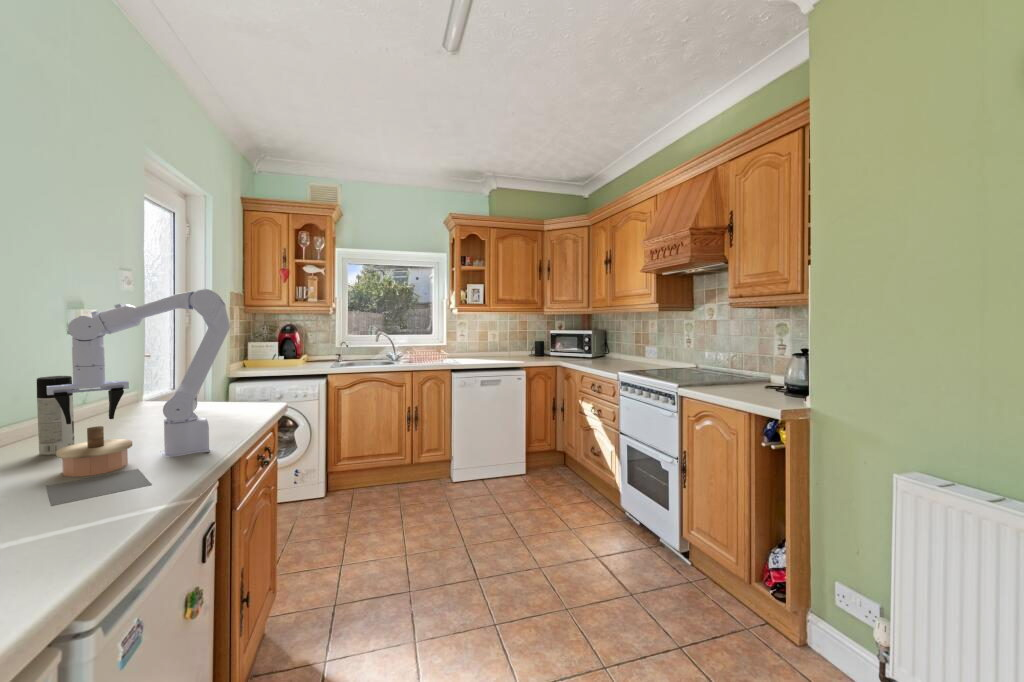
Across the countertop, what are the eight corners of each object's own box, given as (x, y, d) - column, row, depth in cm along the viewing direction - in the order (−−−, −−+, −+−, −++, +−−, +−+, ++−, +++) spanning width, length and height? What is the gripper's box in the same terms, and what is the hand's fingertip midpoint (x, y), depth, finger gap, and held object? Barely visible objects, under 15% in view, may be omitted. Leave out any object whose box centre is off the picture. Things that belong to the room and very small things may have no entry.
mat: (138, 471, 106) (138, 468, 106) (152, 487, 96) (152, 484, 96) (46, 488, 94) (46, 485, 94) (51, 508, 85) (51, 505, 84)
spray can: (80, 450, 121) (78, 376, 121) (48, 457, 115) (45, 379, 114) (65, 447, 124) (63, 374, 123) (32, 454, 117) (29, 377, 116)
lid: (135, 439, 114) (134, 419, 114) (129, 452, 104) (128, 429, 103) (63, 447, 107) (63, 425, 107) (49, 461, 96) (48, 437, 96)
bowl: (122, 460, 114) (122, 440, 113) (131, 470, 106) (130, 449, 106) (61, 470, 105) (60, 449, 105) (65, 482, 98) (64, 459, 98)
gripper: (124, 362, 118) (126, 414, 119) (45, 366, 107) (47, 423, 108) (129, 364, 113) (131, 418, 114) (47, 368, 103) (49, 428, 103)
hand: (90, 421), depth 111 cm, fingers open, 7 cm apart
